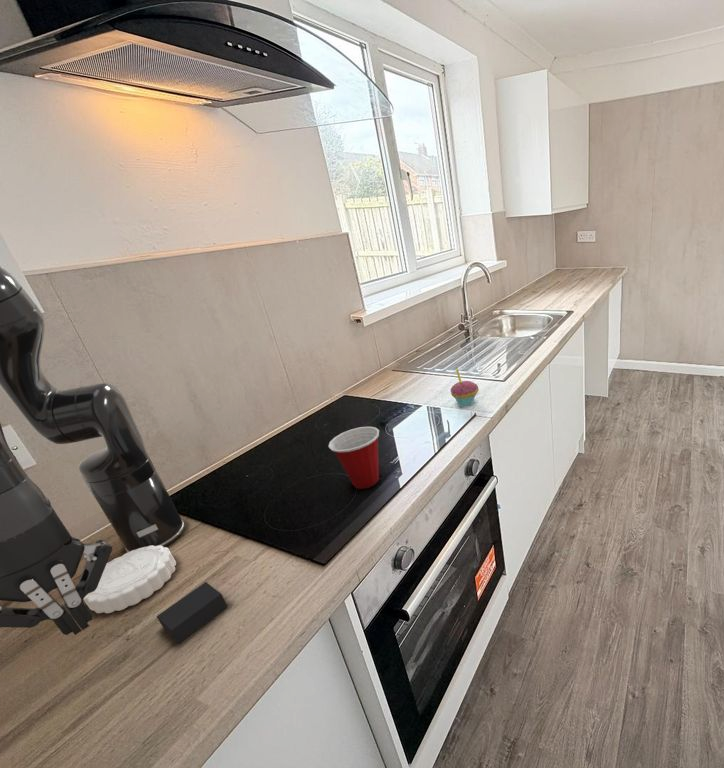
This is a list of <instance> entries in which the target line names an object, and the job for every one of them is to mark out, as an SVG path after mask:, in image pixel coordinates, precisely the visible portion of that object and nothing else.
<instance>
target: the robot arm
mask: <svg viewBox="0 0 724 768" xmlns="http://www.w3.org/2000/svg"><path fill="white" fill-rule="evenodd" d="M45 323H46V322H45V318H44V315H43V313H42V311H41V310H40V308H39V307H38V305H37V304H36V303H35V301H33V299H32V298H31V296H30V295H29V294H28V293H27V291H26V290H25V289H24V288H23V286H22V285H21V284H20V283H19V281H18V280H17V279H16V277H15V276H13V275H12V274H11V272H8V271H7V270H6V269H4V268H3V267H2V266H0V388H1V389H2V391H3V392H4V393H5V394H6V395H7V397H8V398H9V400H11V402H12V403H13V404H14V406H15V407H16V408H17V409H18V411H19V412H20V413H21V415H22V416H23V417H24V419H25V420H26V421H27V422H28V424H29V425H30V426H31V427H32V428H33V430H34V431H35V432H36V433H37V434H39V435H40V436H41V437H42V438H43V439H44V440H46V441H48V442H50V443H53V444H54V445H55V444H56V445H66V444H74V443H79V442H84V441H89V440H94V439H98V438H103V439H104V440H103V441H104V442H105V446H103V447H101V448H99V449H98V450H95V451H94V452H92V453H91V454H89V455H87V456H86V457H85V458H83V459H82V460H81V462H80V463H79V464H78V466H77V468H78V472H79V474H80V476H81V477H82V479H83V481H84V482H85V484H86V486H87V488H88V489H89V491H90V492H91V494H92V495H93V497H94V498H95V500H96V502H97V504H98V505H99V507H100V508H101V510H102V512H103V513H104V515H105V517H106V518H107V520H108V522H109V523H110V525H111V527H112V528H113V530H114V531H115V534H116V535H117V537H118V538H119V540H120V542H121V544H122V545H123V547H124V550H125V551H126V553H128V552H130V551H132V550H136V549H138V548H143V547H148V546H151V545H153V546H158V545H161V546H163V547H166V546H168V545H170V544H172V543H174V541H175V540H177V539H178V538H179V537H180V536H181V535H182V534H183V532H184V531H185V529H186V524H185V522H184V520H183V519H182V517H181V516H180V513H179V512H178V509H177V507H176V505H175V503H174V501H173V499H172V498H171V496H170V494H169V492H168V490H167V488H166V486H165V484H164V482H163V481H162V478H161V476H160V475H159V472H158V471H157V469H156V467H155V465H154V463H153V461H152V459H151V457H150V456H149V454H148V451H147V449H146V447H145V443H144V442H145V441H144V439H143V436H142V434H141V432H140V430H139V428H138V425H137V423H136V421H135V418H134V415H133V413H132V411H131V409H130V406H129V404H128V402H127V400H126V398H125V397H124V395H123V393H122V392H121V390H119V389H118V388H117V386H115V385H113V384H111V383H108V382H100V383H99V382H98V383H93V384H87V385H81V386H76V387H70V388H66V389H58V388H56V387H55V386H54V385H52V383H51V382H50V381H49V380H48V378H47V376H46V375H45V374H44V372H43V370H42V367H41V354H42V350H43V345H44V340H45V339H44V338H45V326H46V325H45ZM112 552H113V547H112V546H111V545H110V544H109V543H108V542H107V541H106V540H104V539H99V540H96V541H95V542H90V543H83V542H82V541H81V540H80V539H79V538H76V537H73V536H72V535H71V533H70V532H69V530H68V529H67V528H66V526H65V525H64V523H63V522H62V520H61V518H60V517H59V516H58V514H57V512H56V510H55V509H54V507H53V506H52V503H51V501H50V499H49V498H47V497H46V495H45V494H44V493H43V491H42V489H41V488H40V487H39V486H38V485H37V484H36V483H35V482H34V481H33V480H32V479H31V478H30V477H29V475H28V474H27V473H26V471H25V470H24V468H23V467H22V465H21V464H20V462H19V461H18V459H17V458H16V456H15V454H14V452H13V451H12V450H11V448H10V446H9V444H8V442H7V439H6V437H5V433H4V431H3V427H2V424H1V422H0V601H2V602H3V601H4V602H15V603H29V602H33V604H35V605H36V606H37V607H35V608H32V607H31V608H28V607H9V606H2V604H0V628H20V629H21V628H25V629H27V628H28V629H31V628H34V627H36V626H38V625H39V624H40V623H41V622H44V621H48V620H49V621H52V622H53V623H54V624H55V625H56V627H57V628H58V629H59V631H60V632H61V633H62V634H63V635H66V636H69V635H70V634H71V633H72V634H73V635H74V636H76V635H78V634H79V633H81V632H82V631H85V629H87V628H89V627H90V624H89V622H91V621H92V620H93V614H92V613H91V611H90V609H89V608H88V606H87V605H86V603H85V602H84V600H83V599H84V597H85V596H86V595H87V594H88V593H91V592H93V591H95V590H96V589H97V586H98V584H99V581H100V579H101V576H102V574H103V571H104V569H105V566H106V564H107V563H109V562H108V561H109V559H110V556H111V554H112ZM82 558H84V559H85V560H86V562H85V564H84V566H83V569H82V572H81V574H80V577H79V580H78V581H77V584H76V585H75V584H74V581H73V580H72V579H73V578H74V577H75V576H76V574H77V572H78V568H79V566H80V563H81V560H82ZM54 590H57V592H58V594H59V595H60V596H59V597H61V599H62V601H63V602H64V604H60V602H58V601H57V600H56V599H55V598H54V597H53V596H52V594H50V593H51V592H52V591H54Z"/></svg>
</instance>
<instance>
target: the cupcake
mask: <svg viewBox="0 0 724 768" xmlns="http://www.w3.org/2000/svg"><path fill="white" fill-rule="evenodd" d="M455 372H456V375H457V379H458V382H456V383H454V384H453V385H452V386H451V388H450V392H451V393H450V394H451V397H452V398H454V399H455V401H456V402H457V404H458V406H459V407H470V406H472V405H473V404H474V402H475V397H476V395H477V394H478V393H479V391H480V388H479V385H478V384H477V383H475V382H473V381H471V380H462V378H461V373H460V371H459V368H458V367H457V366H455Z"/></svg>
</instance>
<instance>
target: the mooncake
mask: <svg viewBox="0 0 724 768" xmlns="http://www.w3.org/2000/svg"><path fill="white" fill-rule="evenodd" d="M176 565H177V561H176V560H175V558H174V556H173V554H172V552H171V551H170V549H169V548H168V547H166V546H165V547H163V546H161V545H158V546H153V545H151V546H148V547H143V548H138V549H136V550H132V551H130V552H128V553H127V552H125V553H124V554H123V555H122V556H119V557H116V558H114V559H111V561H109V562H107V564H106V566H105V569H104V571H103V574H102V576H101V579H100V581H99V584H98V586H97V589H96V590H95V591H93V592H91V593H88V594H87V595H86V596H85V597H84V599H83V602H84V604H85V605H86V607H87V608H88V609H89V611H92V612H93V611H94V613H96V614H103V613H104V614H110V613H114V612H115V611H116V612H120V611H123V610H125V609H126V608H128V607H132V606H135V605H137V604H139V603H140V602H141V601H142V600H144V599H145V600H146V599H147V598H149V597H151V596H152V595H153V594H154V592H156V591H158V590H160V589H161V588H162V587H163V586H164V585H165V583H166V582H168V581H169V580H170V579H171V577H172V574H174V572H175V571H176V567H175V566H176Z"/></svg>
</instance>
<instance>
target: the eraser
mask: <svg viewBox="0 0 724 768" xmlns="http://www.w3.org/2000/svg"><path fill="white" fill-rule="evenodd" d="M227 608H228V604H227V601H226V599H225V598H224V596H223V594H222V593H221V592H220V591H219V590H217V589H216V588H215V587H213V585H211V584H209V583H208V582H207V581H205V582H203V583H202V584H200V585H199V586H198V587H196V588H195V589H193V590H192V591H191V592H189V593H188V594H186V595H185V596H183V597H182V598H181V599H179V600H178V601H176V602H175V603H173V604H172V605H170V606H169V607H167V608H166V609H164V610H163V611H162V612H160V613H159V614H157V616H156V619H157V620H158V621H159V623H160V624H161V626H162V628H163V629H164V631H166V632H167V634H168V635H169V636H171V637H172V639H174V641H175V642H177V643H178V644H181V643H183V642H184V641H185V640H186V639H187V638H189V637H191V636H192V635H194V633H196V632H197V631H198V630H199V629H201V628H202V627H203V626H205V625H206V624H208V623H209V622H210V621H211V620H212V619H214V618H215V617H216V616H218V615H219V614H220V613H222V612H223V611H224V610H225V609H227Z"/></svg>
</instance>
